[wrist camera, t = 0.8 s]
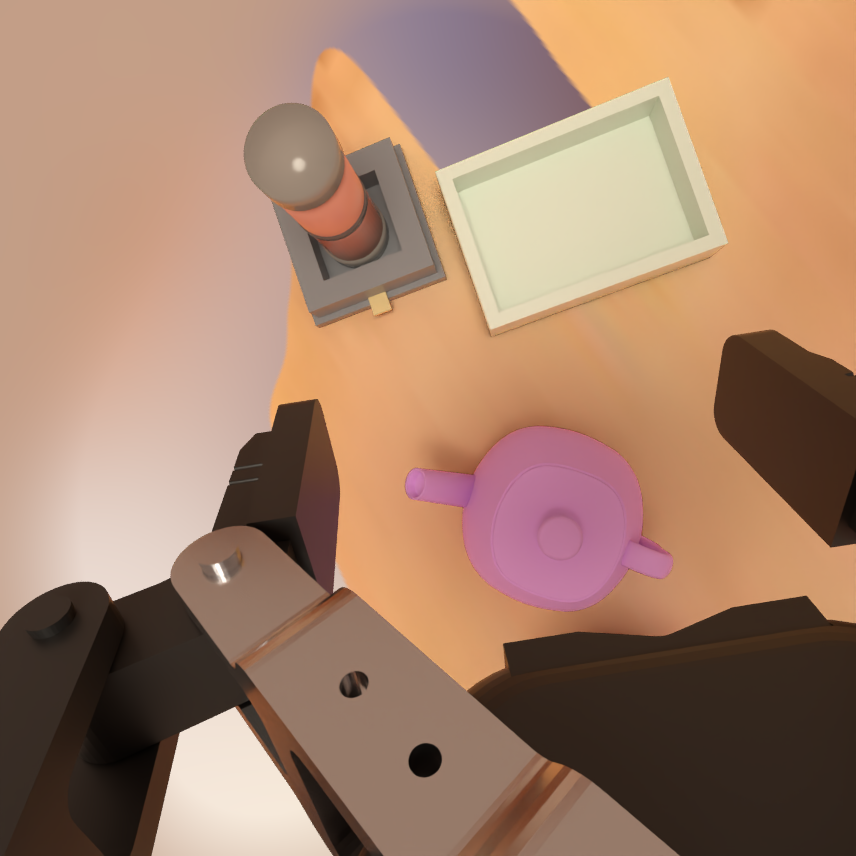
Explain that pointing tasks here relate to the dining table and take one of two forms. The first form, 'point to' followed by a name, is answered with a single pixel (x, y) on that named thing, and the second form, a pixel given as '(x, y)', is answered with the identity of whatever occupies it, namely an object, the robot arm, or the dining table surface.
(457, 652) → the dining table surface
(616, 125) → the parts tray
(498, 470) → the teapot
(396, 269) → the socket block
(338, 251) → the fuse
